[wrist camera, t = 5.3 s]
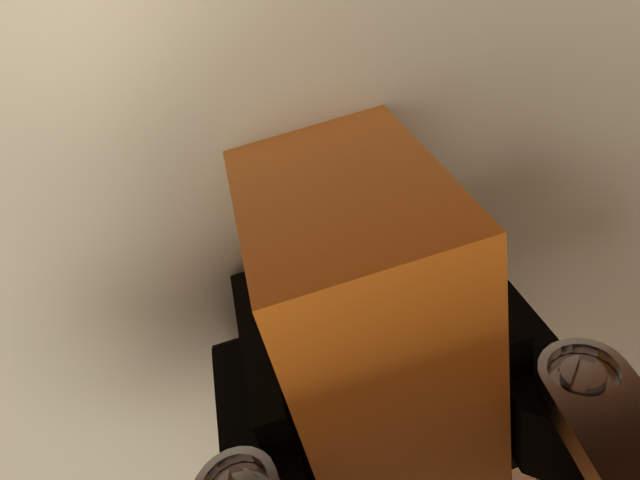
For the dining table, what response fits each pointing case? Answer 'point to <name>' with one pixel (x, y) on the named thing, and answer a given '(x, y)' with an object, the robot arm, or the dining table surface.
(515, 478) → the dining table surface
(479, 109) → the lid
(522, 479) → the dining table surface
